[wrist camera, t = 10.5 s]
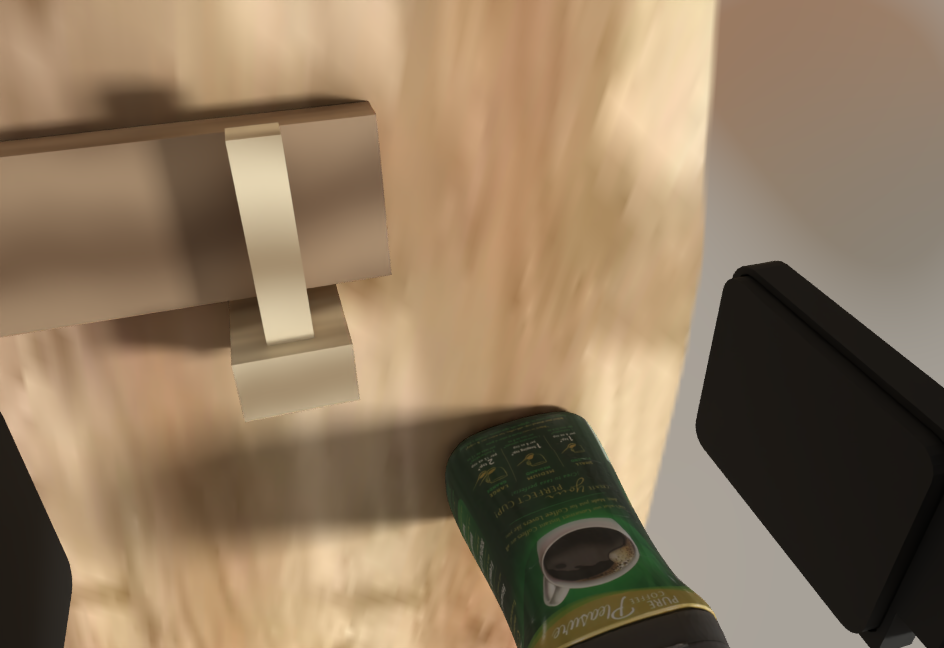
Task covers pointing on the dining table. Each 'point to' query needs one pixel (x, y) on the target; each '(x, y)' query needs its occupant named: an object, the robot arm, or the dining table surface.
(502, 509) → the coffee jar
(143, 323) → the dining table surface
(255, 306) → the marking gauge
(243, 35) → the dining table surface
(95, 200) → the walnut board
